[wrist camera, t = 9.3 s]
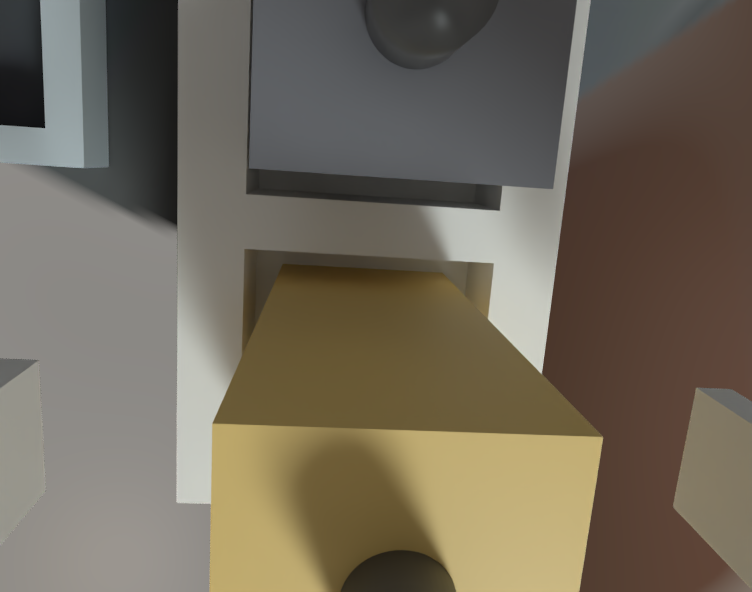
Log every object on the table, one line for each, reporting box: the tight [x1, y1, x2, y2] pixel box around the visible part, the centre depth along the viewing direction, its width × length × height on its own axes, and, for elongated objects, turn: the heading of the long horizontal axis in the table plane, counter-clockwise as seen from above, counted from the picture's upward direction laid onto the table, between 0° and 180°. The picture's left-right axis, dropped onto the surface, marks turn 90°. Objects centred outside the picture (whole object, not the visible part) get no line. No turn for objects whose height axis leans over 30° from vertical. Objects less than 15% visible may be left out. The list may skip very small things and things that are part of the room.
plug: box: [210, 264, 603, 592], centre depth 13 cm, size 5×5×14 cm
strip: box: [177, 0, 591, 504], centre depth 14 cm, size 24×10×12 cm, turn 176°
